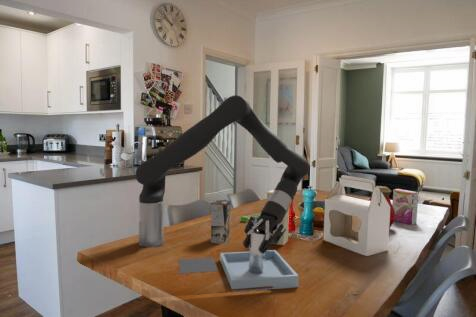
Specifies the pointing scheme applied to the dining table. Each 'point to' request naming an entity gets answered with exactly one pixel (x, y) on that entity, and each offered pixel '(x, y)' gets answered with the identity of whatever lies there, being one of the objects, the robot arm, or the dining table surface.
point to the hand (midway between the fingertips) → (253, 249)
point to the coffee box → (220, 221)
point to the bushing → (256, 252)
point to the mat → (197, 265)
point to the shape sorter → (246, 218)
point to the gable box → (370, 212)
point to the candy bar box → (405, 206)
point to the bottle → (386, 193)
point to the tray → (274, 273)
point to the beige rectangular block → (284, 222)
